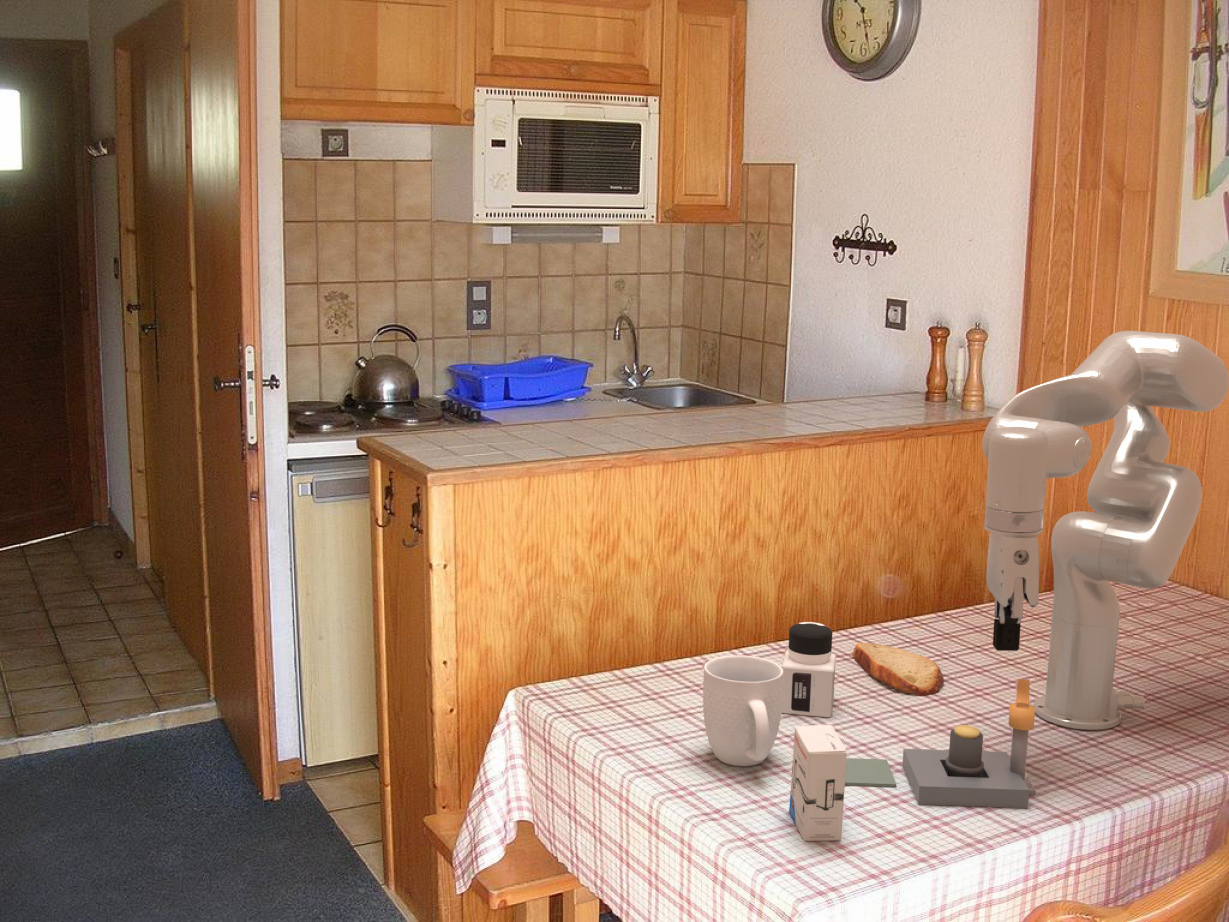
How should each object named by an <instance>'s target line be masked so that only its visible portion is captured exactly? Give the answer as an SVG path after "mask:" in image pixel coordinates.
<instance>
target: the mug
mask: <svg viewBox="0 0 1229 922" xmlns="http://www.w3.org/2000/svg"><path fill="white" fill-rule="evenodd" d="M782 699H783V669H782V666H780V665H779V664H777V663H776V662H774V661H773V660H769V659H767V658H765V657H764V658H762V657H758V656H753V655H739V654H738V655H737V654H736V655H735V654H734V655H724V656H720V657H719V656H718V657H715V658H712V659H710V660H708V661H706V663H705V664H704V667H703V686H702V708H703V714H702V715H703V718H704V719H703V723H704V728H705V733H706V736H707V741H708V744H709V746H710V748H711V750H712V751H713V754H714V756H716V759H718V760H719V761H720V762H722V763H724V764H727V765H729V766H734V767H752V766H755V765H759V764H761V763H762V762H764V760H765V759H766V758H767V757H768V755H769V754H770V752H771V750H772V748H773V746H774V745H775V742H776V739H777V735H778V732H779V730H780V729H779V727H780V724H781V718H782V714H783V713H782V701H783V700H782Z"/></svg>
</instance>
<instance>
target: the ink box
mask: <svg viewBox="0 0 1229 922" xmlns="http://www.w3.org/2000/svg"><path fill="white" fill-rule="evenodd" d="M793 734H794V736H793V748H792V749H793V751H792V765H791V766H792V767H791V781H790V782H791V784H790V795H789V808H788V809H789V810H788V811H789V814H790V816H791V817H792V820H793V821H794V824H795V825H796V828H797V829H798V832H799V833H800V836H801V839H803V841H804V842H817V841H820V842H822V841H823V842H825V841H827V842H828V841H842V834H843V832H842V831H843V830H842V829H843V817H844V802H845V801H844V800H845V787H846V785H845V772H846V758H847V753H848V752H847V748H846V747H845V745H844V744H843V742H842V740H841V738H840V736H839V734H838V733H837V731H836V729H835V728H834V726H833V725H832V724H818V725H816V724H814V725H813V724H812V725H795V726H794V733H793Z"/></svg>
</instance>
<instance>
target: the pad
mask: <svg viewBox="0 0 1229 922" xmlns="http://www.w3.org/2000/svg"><path fill="white" fill-rule="evenodd" d="M888 761H889V760H888V759H883V758H881V759H880V758H852V757H851V758H850V757H846V772H845V786H853V787H855V786H857V787H880V788H881V787H887V788H888V787H889V788H897V782H896V779H895V777H894V774H893V772H892V768H891V767H890V764H889V762H888Z"/></svg>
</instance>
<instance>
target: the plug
mask: <svg viewBox="0 0 1229 922" xmlns="http://www.w3.org/2000/svg"><path fill="white" fill-rule="evenodd" d="M949 735H950V736H949V746H948V747H949V749H948V750H949V756H948V757H947V758H946V766H947V767H948V777H977V778H980V773H981V771H983V769H984V763H983V761H982V760H981V759H982V751H983V747H984V746H983V745H984V744H983V743H984V734H983V733H982V732H981V731H980V729H979V728H977V727H976V726H974V725H973V726H972V725H966V724H962V725H961V724H959V725H956V726H955V727H954V728H953V729H951V730H950V734H949Z"/></svg>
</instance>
